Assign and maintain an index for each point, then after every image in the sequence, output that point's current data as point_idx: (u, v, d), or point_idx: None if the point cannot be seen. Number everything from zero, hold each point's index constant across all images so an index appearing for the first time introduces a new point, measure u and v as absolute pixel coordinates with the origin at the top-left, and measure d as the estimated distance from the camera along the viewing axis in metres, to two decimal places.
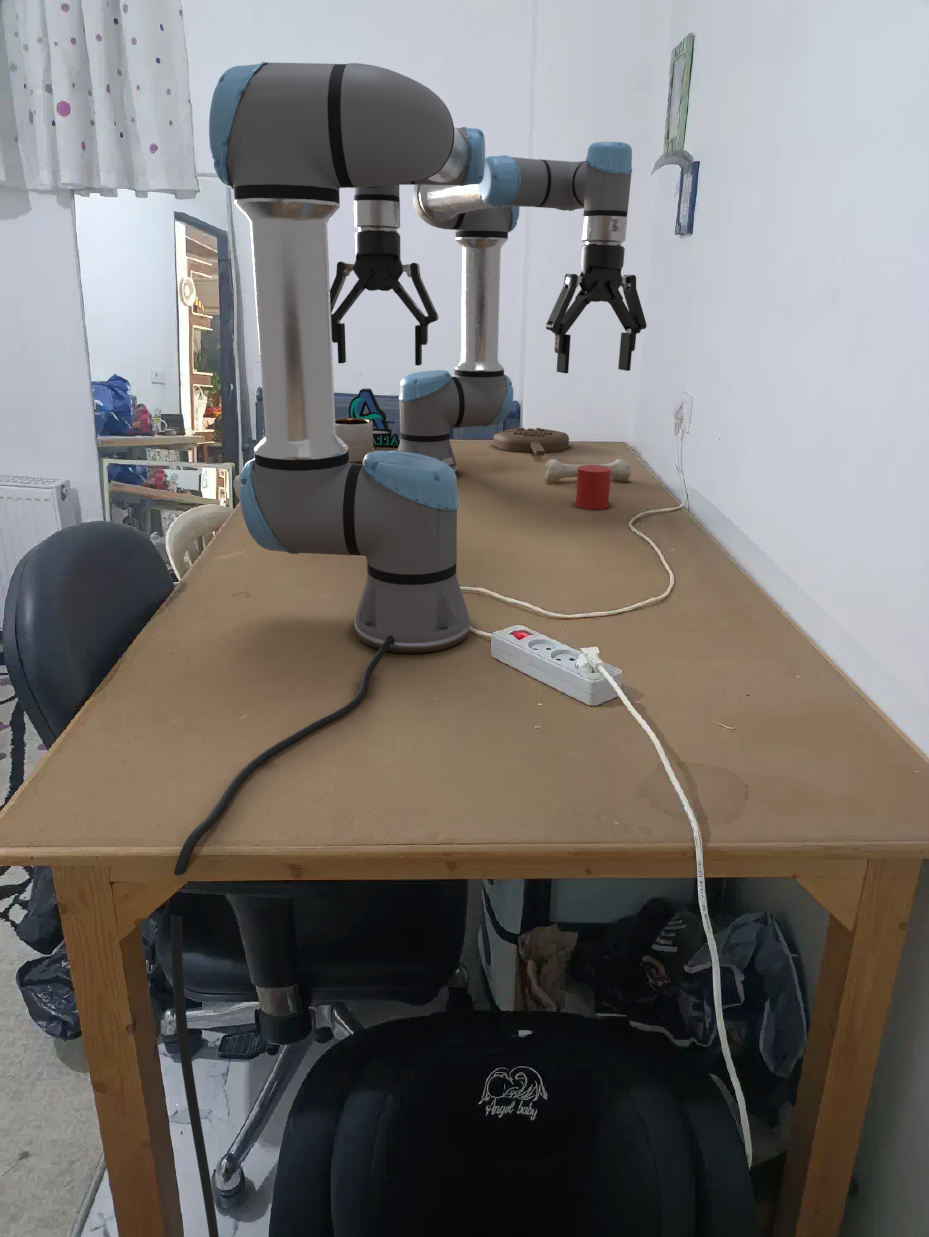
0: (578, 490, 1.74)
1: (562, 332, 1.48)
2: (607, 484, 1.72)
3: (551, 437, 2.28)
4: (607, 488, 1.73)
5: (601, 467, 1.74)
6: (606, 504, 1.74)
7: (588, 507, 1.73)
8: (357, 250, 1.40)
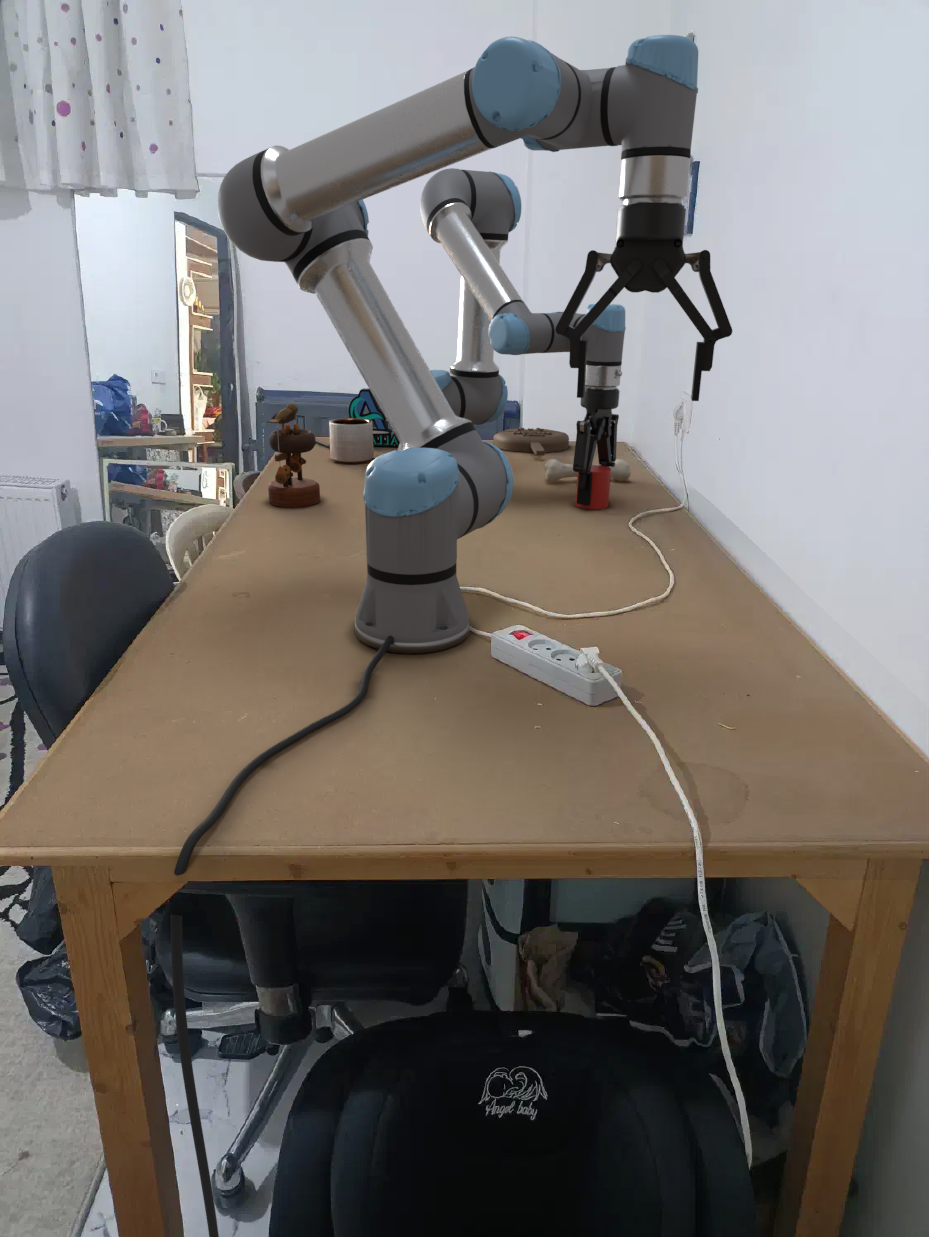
0: None
1: (588, 473, 1.69)
2: (607, 484, 1.72)
3: (551, 437, 2.28)
4: (607, 488, 1.73)
5: (601, 467, 1.74)
6: (606, 504, 1.74)
7: (588, 507, 1.73)
8: (622, 233, 0.94)
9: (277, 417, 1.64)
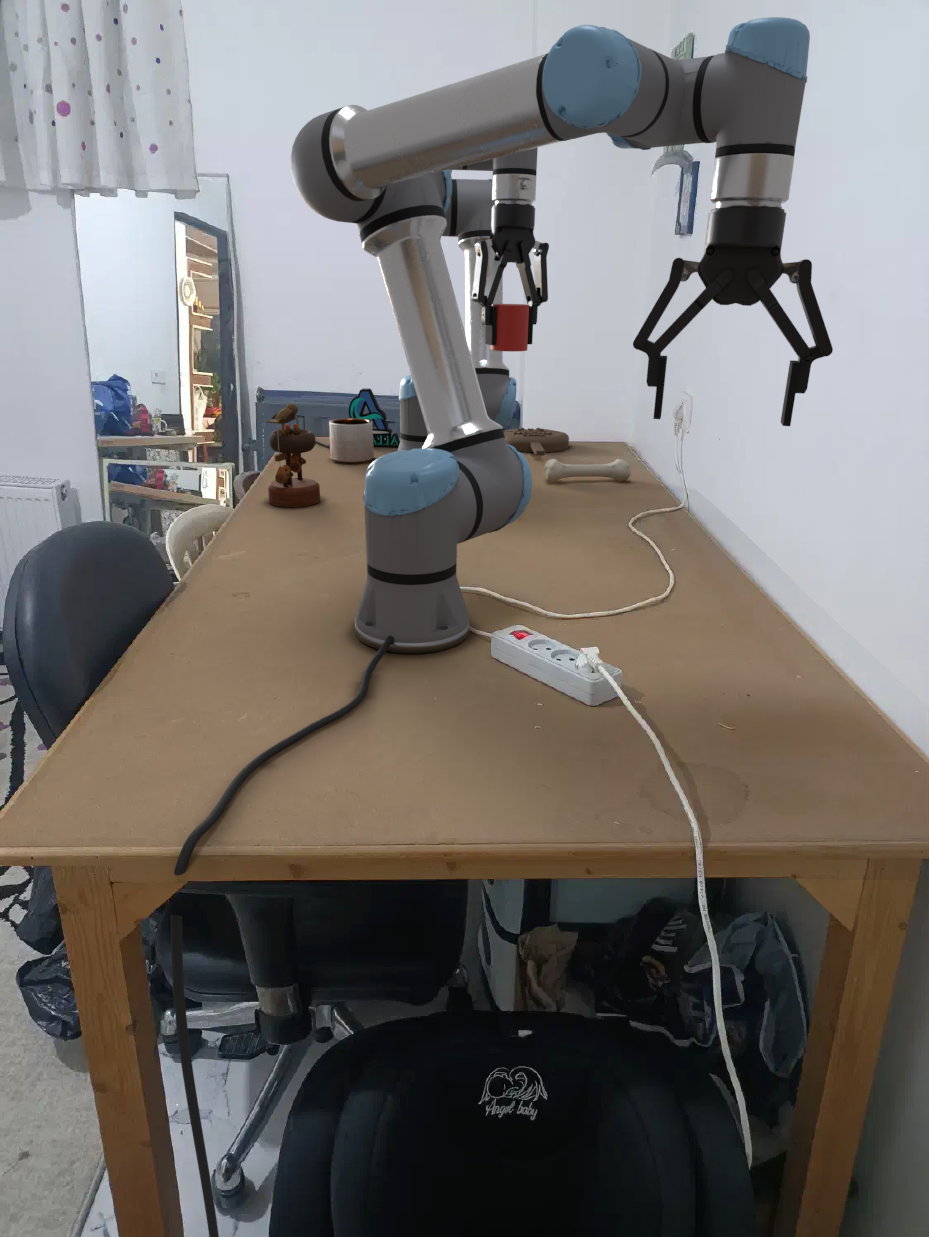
0: None
1: (488, 304, 1.49)
2: (517, 322, 1.50)
3: (551, 437, 2.28)
4: (517, 327, 1.50)
5: None
6: (517, 347, 1.51)
7: (495, 348, 1.52)
8: (713, 239, 0.85)
9: (277, 417, 1.64)
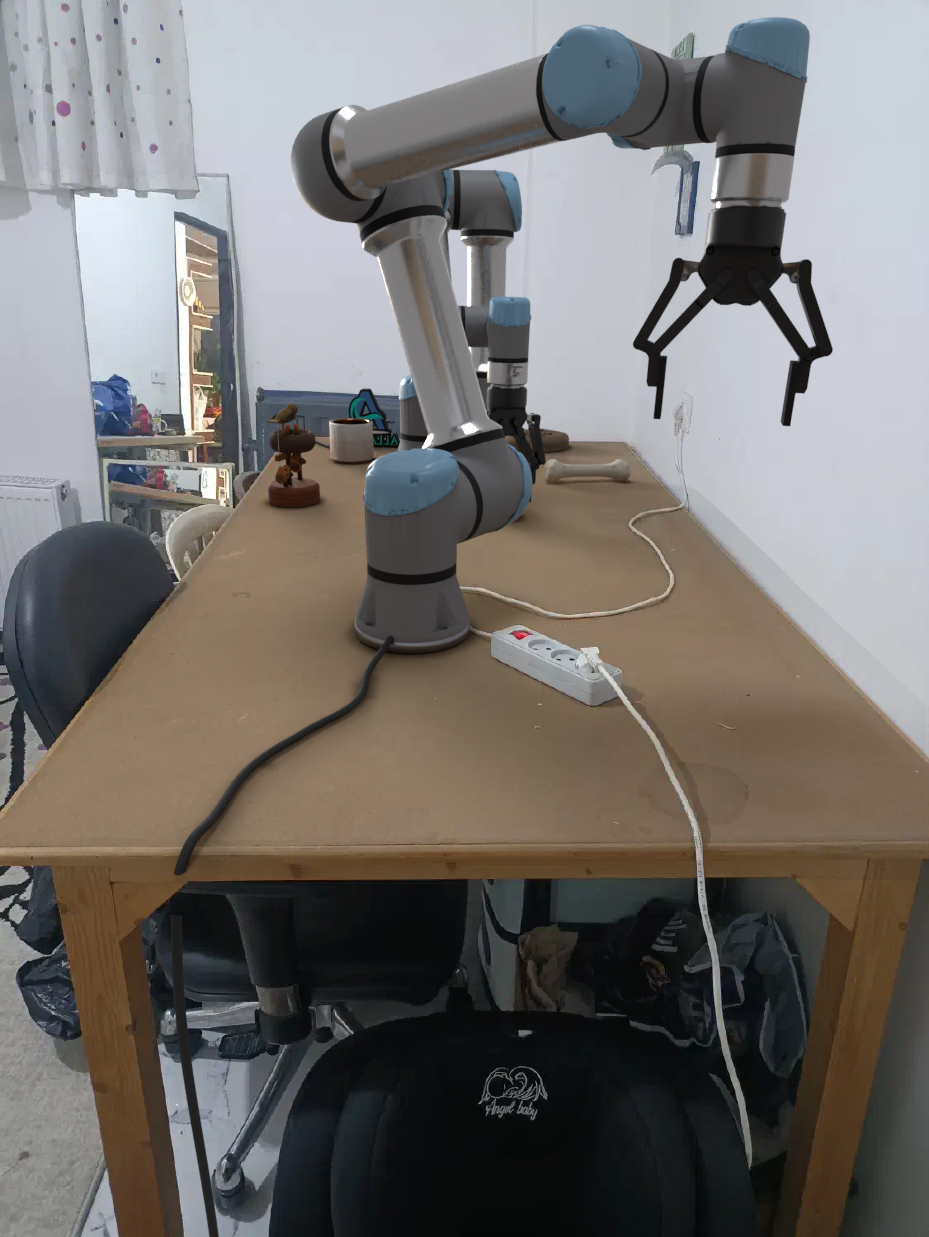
0: None
1: None
2: None
3: (551, 437, 2.28)
4: None
5: None
6: None
7: None
8: (713, 239, 0.85)
9: (277, 417, 1.64)
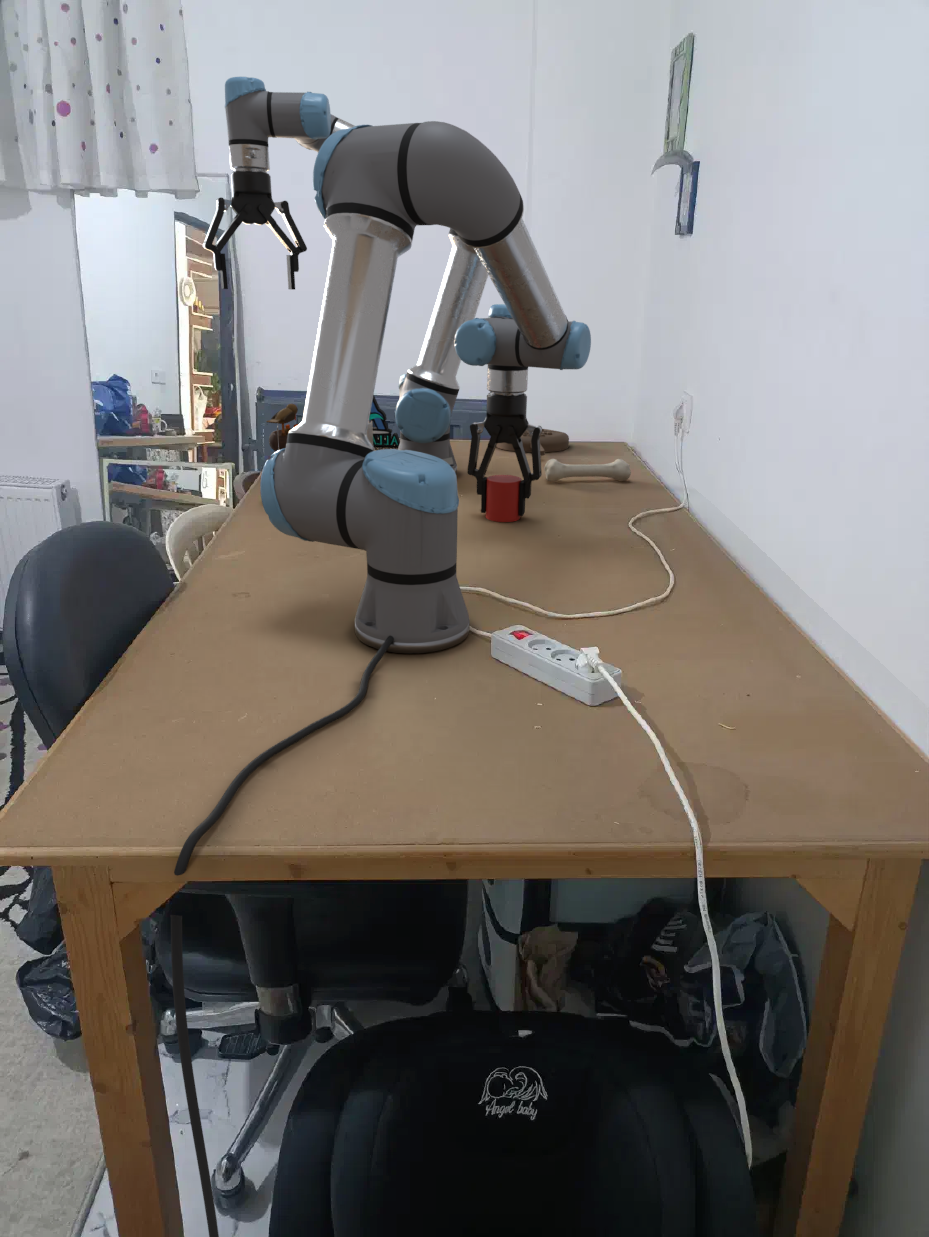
0: None
1: (216, 251, 1.65)
2: (510, 496, 1.62)
3: (551, 437, 2.28)
4: (510, 501, 1.62)
5: (513, 478, 1.64)
6: (510, 518, 1.63)
7: (490, 518, 1.64)
8: (488, 410, 1.57)
9: (277, 417, 1.64)
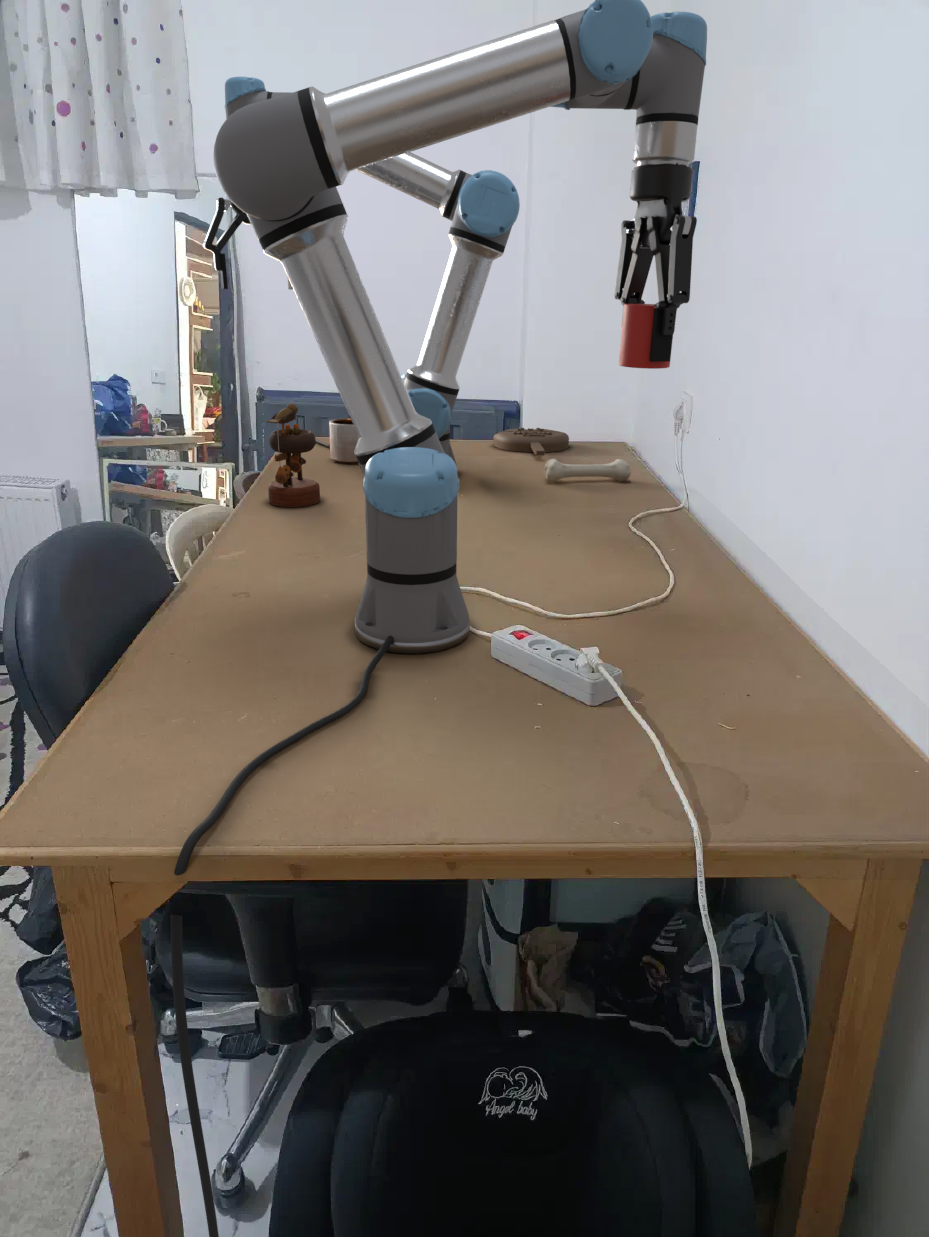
0: None
1: (216, 251, 1.65)
2: (637, 328, 1.10)
3: (551, 437, 2.28)
4: (637, 335, 1.10)
5: None
6: (636, 362, 1.11)
7: None
8: None
9: (277, 417, 1.64)
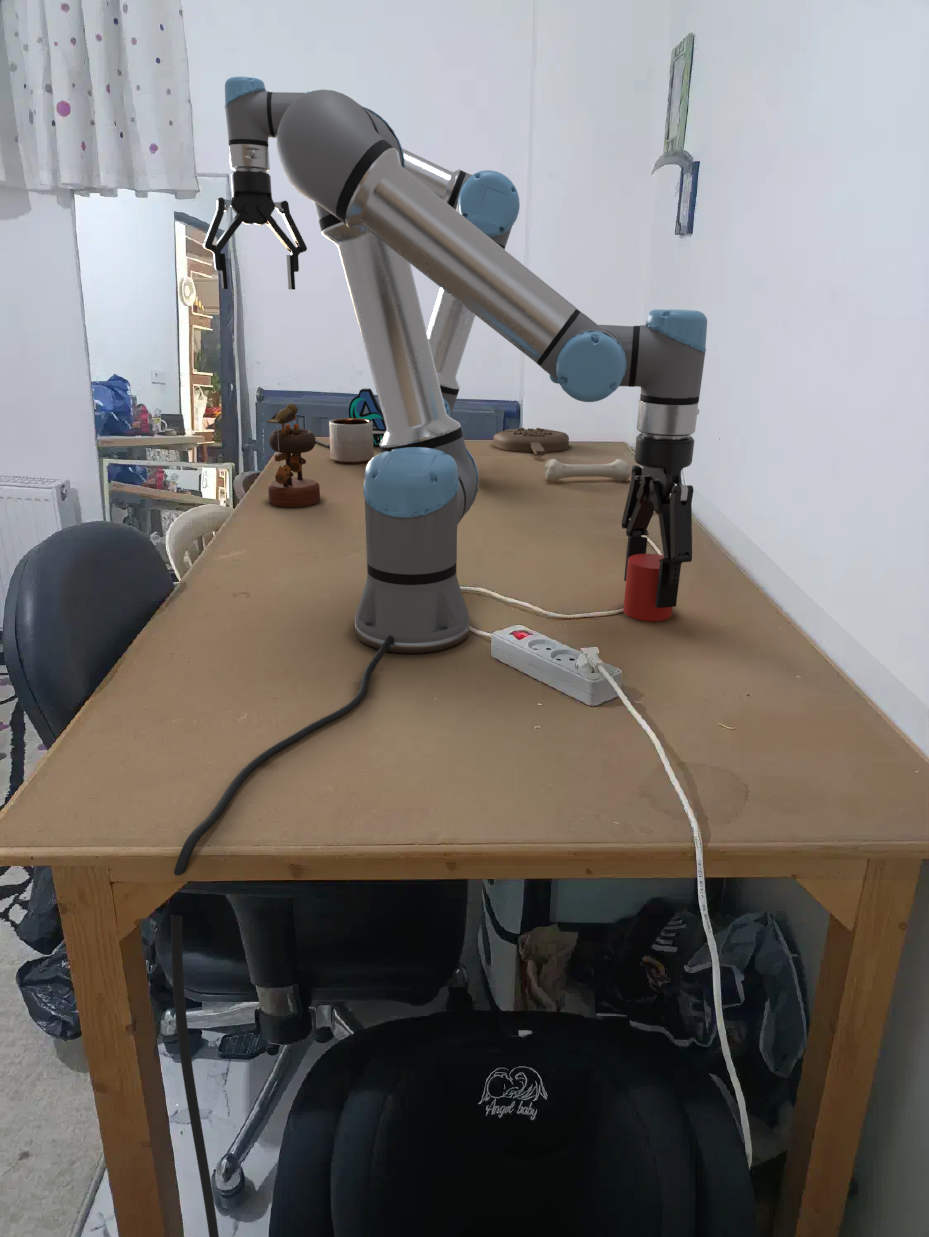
0: None
1: (216, 251, 1.65)
2: (637, 585, 1.17)
3: (551, 437, 2.28)
4: (638, 591, 1.17)
5: None
6: (636, 614, 1.18)
7: None
8: None
9: (277, 417, 1.64)
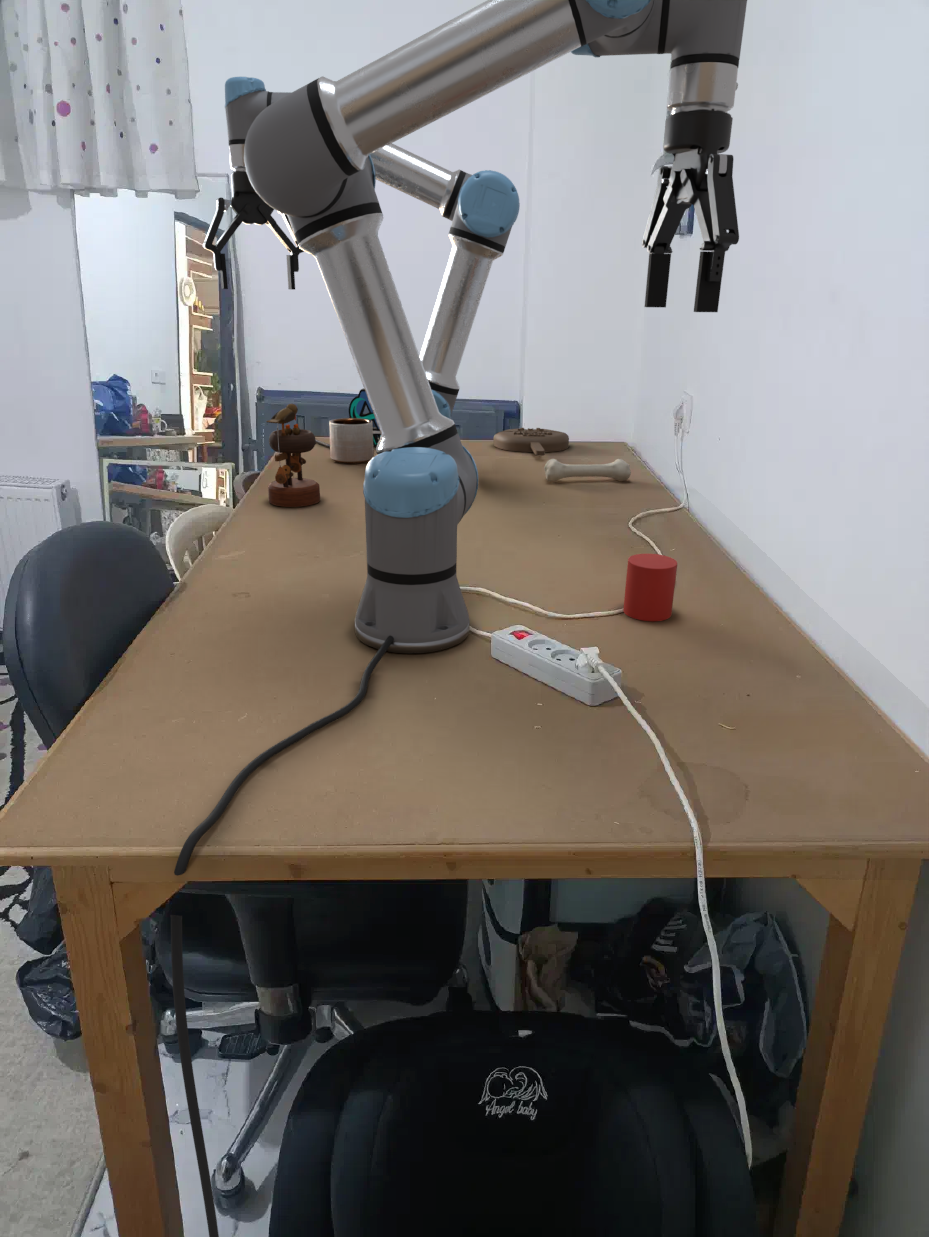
0: None
1: (216, 251, 1.65)
2: (637, 585, 1.17)
3: (551, 437, 2.28)
4: (638, 591, 1.17)
5: (661, 564, 1.16)
6: (636, 614, 1.18)
7: None
8: None
9: (277, 417, 1.64)
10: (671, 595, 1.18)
